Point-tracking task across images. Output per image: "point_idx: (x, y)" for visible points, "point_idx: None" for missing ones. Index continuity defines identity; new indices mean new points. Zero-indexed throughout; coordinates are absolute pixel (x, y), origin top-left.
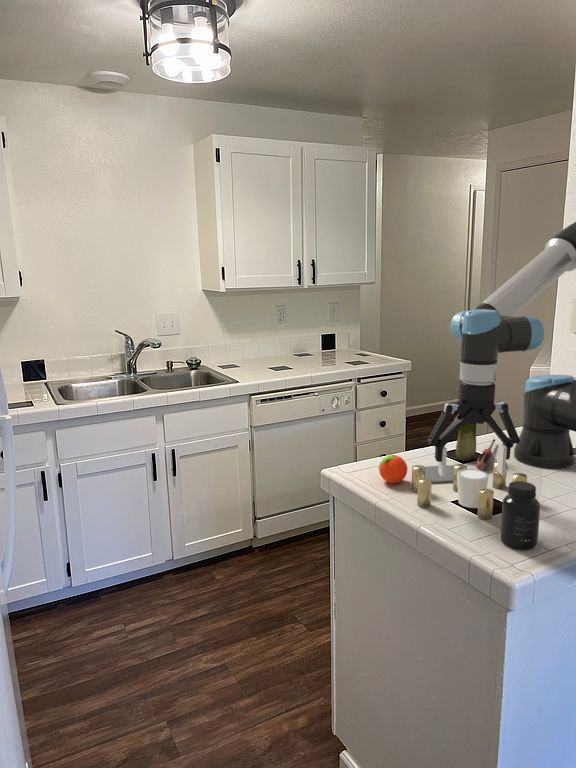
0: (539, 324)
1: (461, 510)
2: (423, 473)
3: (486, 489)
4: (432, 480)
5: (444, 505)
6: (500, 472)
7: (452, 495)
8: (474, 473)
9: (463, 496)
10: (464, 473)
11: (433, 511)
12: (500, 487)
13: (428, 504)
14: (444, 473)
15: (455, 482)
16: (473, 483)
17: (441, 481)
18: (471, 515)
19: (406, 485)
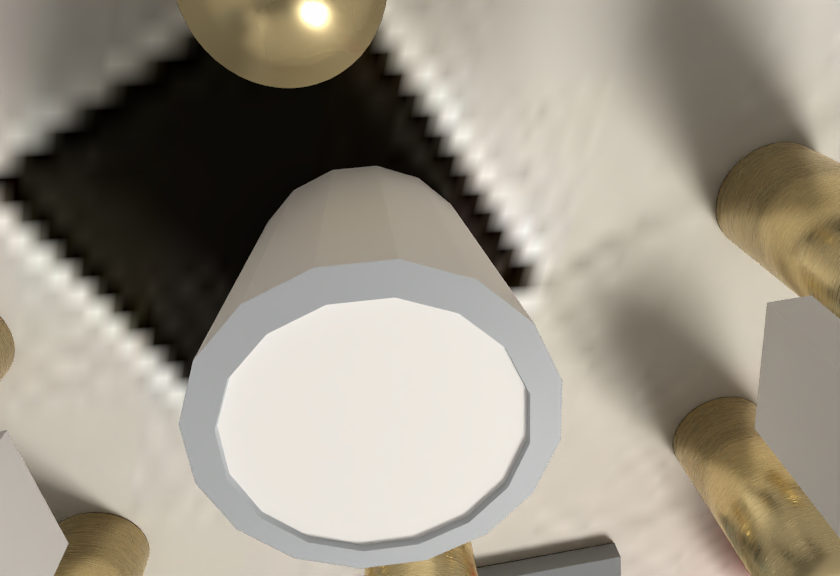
0: None
1: (487, 111)
2: (783, 527)
3: (266, 46)
4: (578, 573)
5: (603, 205)
6: (13, 474)
7: None
8: (349, 459)
9: (468, 230)
10: (471, 449)
11: (737, 79)
12: (88, 522)
13: (769, 161)
14: (808, 327)
15: None
16: (403, 245)
17: (514, 571)
18: (422, 3)
19: None
